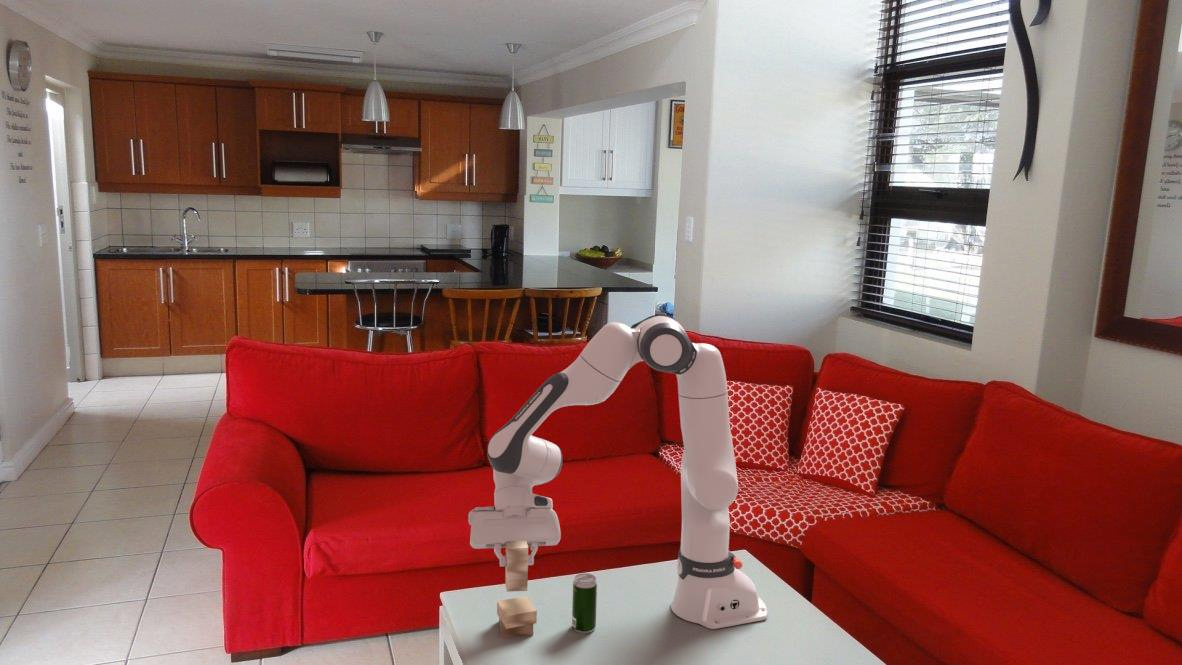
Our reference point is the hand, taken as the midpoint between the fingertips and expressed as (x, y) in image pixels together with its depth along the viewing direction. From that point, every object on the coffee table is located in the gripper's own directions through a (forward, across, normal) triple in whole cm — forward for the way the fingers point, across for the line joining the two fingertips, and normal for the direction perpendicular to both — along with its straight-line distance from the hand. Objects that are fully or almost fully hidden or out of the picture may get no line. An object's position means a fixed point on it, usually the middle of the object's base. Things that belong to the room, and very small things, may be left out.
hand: (516, 564), depth 184 cm
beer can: (+12, +15, +10) cm, 22 cm away
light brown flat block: (+11, 0, +12) cm, 16 cm away
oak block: (+9, 0, +9) cm, 13 cm away
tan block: (+3, 0, +4) cm, 5 cm away
